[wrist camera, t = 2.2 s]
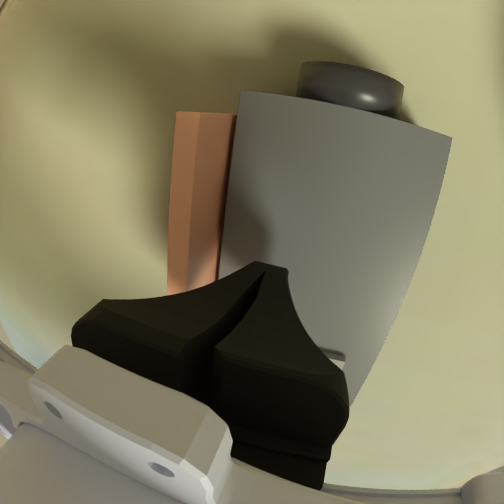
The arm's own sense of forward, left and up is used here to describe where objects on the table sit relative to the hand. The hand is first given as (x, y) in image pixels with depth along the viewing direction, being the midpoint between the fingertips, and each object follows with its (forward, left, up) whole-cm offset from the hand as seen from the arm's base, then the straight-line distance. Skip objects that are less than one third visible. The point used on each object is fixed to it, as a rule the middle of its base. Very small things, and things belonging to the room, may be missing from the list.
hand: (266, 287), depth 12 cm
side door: (0, +3, -6) cm, 7 cm away
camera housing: (0, -2, -6) cm, 6 cm away
